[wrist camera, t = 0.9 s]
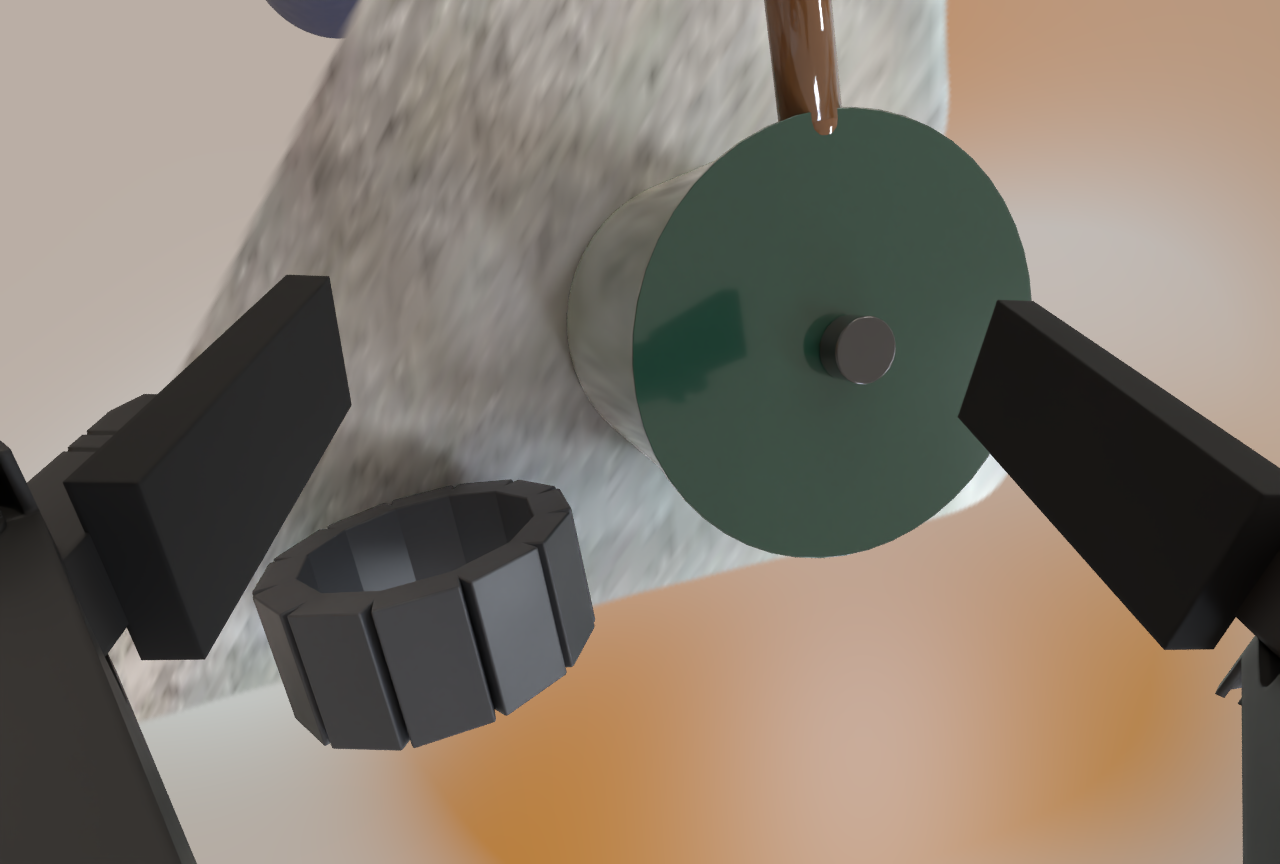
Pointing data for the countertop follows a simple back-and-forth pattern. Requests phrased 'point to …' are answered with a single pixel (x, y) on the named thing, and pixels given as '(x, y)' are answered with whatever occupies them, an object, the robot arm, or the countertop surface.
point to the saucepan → (802, 315)
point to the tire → (427, 613)
